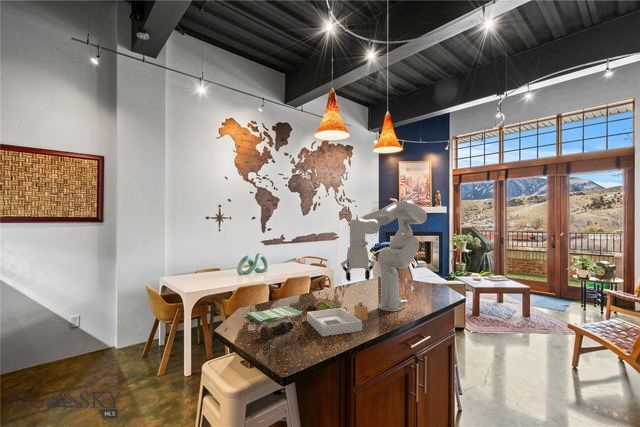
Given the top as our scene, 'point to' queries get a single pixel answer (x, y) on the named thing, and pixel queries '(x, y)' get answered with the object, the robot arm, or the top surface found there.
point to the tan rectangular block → (361, 311)
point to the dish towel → (273, 314)
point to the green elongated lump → (323, 304)
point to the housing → (334, 321)
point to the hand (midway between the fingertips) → (357, 280)
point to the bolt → (275, 330)
